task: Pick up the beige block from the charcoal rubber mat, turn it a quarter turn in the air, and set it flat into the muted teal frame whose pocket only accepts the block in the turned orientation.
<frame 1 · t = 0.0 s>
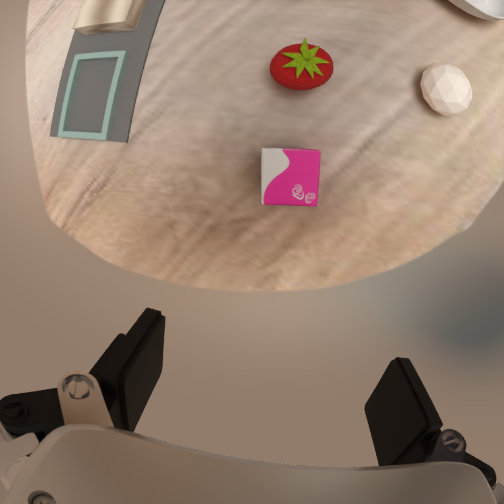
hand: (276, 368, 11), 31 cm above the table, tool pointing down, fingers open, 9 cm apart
beige block: (115, 16, 31), resting on charcoal mat
strawberry: (298, 78, 35), on the table
charcoal mat: (102, 60, 34), on the table
teal frame: (93, 95, 36), resting on charcoal mat
geometric ball: (433, 93, 33), on the table
supplement box: (285, 169, 39), on the table
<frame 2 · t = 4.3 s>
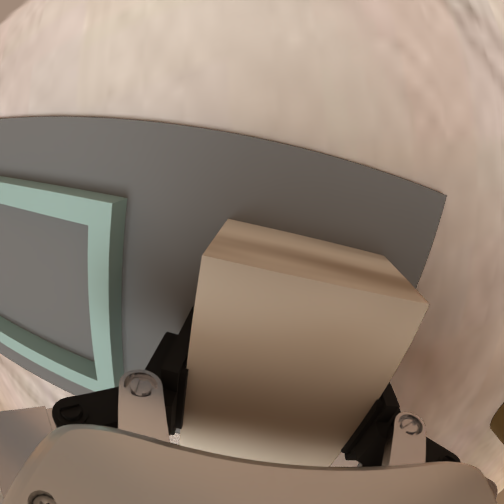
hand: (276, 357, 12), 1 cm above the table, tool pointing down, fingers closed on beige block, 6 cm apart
beige block: (276, 348, 12), resting on charcoal mat, touching gripper
charcoal mat: (106, 299, 13), on the table
teal frame: (21, 268, 13), resting on charcoal mat
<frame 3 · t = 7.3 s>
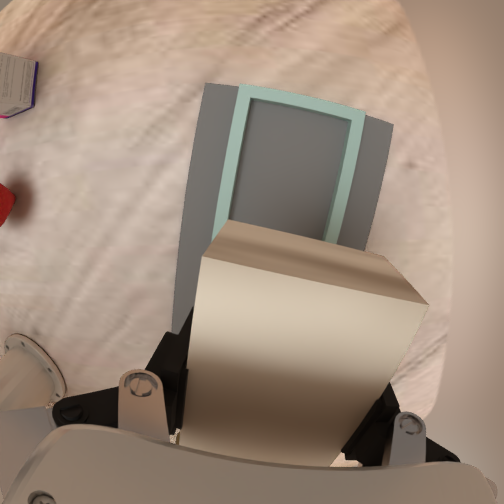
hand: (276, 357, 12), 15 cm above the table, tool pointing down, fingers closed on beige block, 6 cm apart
beige block: (276, 349, 12), point 14 cm above the table, touching gripper
strawberry: (15, 199, 26), on the table
charcoal mat: (271, 248, 26), on the table
teal frame: (286, 180, 24), resting on charcoal mat
supplement box: (21, 90, 22), on the table
when the fingers open (3 cm above the table, at t = 10.4 s): beige block drops 2 cm, resting on charcoal mat.
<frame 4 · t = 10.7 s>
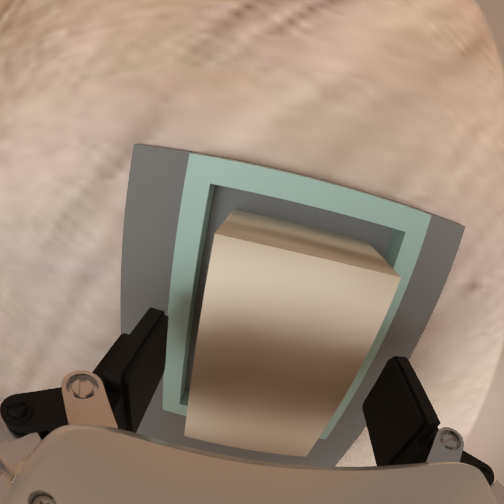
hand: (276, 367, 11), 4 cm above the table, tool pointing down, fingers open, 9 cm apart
beige block: (274, 325, 14), resting on charcoal mat
charcoal mat: (251, 400, 16), on the table
teal frame: (276, 320, 14), resting on charcoal mat
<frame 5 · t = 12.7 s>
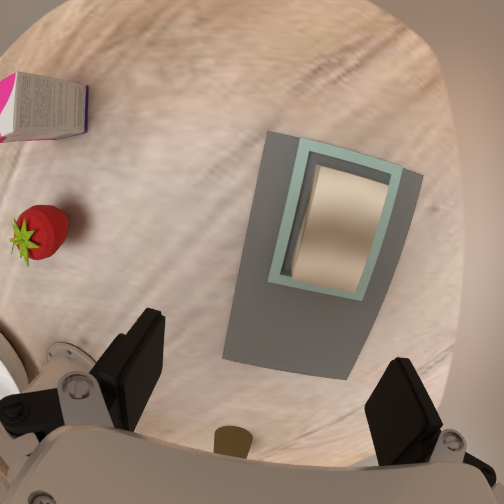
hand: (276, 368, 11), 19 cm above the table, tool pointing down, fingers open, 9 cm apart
beige block: (333, 222, 28), resting on charcoal mat
serving bowl: (6, 350, 43), on the table
strawberry: (67, 219, 31), on the table
charcoal mat: (317, 276, 30), on the table
cork: (233, 435, 41), on the table
teal frame: (333, 221, 28), resting on charcoal mat
supplement box: (70, 112, 27), on the table
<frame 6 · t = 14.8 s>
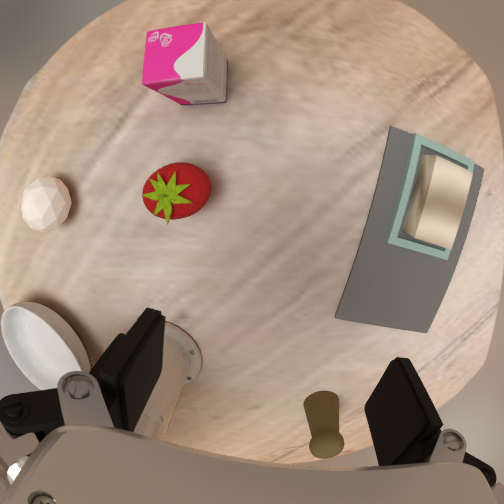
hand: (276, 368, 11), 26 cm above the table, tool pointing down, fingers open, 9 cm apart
beige block: (430, 198, 33), resting on charcoal mat
serving bowl: (58, 338, 46), on the table
strawberry: (190, 185, 35), on the table
charcoal mat: (417, 241, 35), on the table
cork: (321, 402, 45), on the table
teal frame: (430, 198, 33), resting on charcoal mat
geometric ball: (62, 198, 37), on the table
supplement box: (203, 82, 31), on the table
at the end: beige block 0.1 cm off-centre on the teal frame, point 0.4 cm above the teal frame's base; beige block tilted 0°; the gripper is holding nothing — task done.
